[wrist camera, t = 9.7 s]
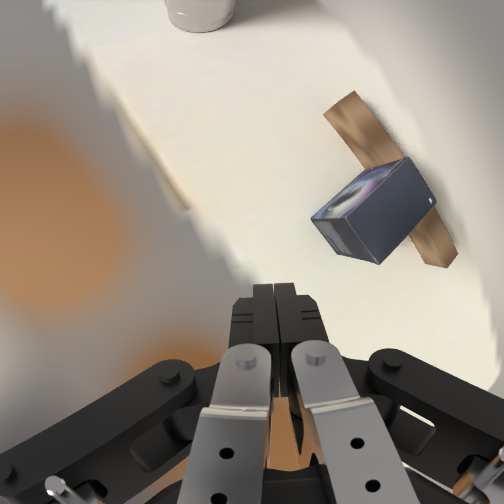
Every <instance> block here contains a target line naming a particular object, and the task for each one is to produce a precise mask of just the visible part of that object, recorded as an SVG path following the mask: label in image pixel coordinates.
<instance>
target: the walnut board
mask: <svg viewBox="0 0 504 504" xmlns="http://www.w3.org/2000/svg"><path fill="white" fill-rule="evenodd" d="M323 115H324V116H325V118H326V119H327V120H328V121H329V123H330V124H331V125H332V126H333V127H334V129H335V130H336V131H337V132H338V134H339V135H340V136H341V137H342V139H343V140H344V141H345V143H346V144H347V145H348V146H349V148H350V149H351V150H352V152H353V153H354V154H355V156H356V157H357V158H358V160H359V161H360V162H361V164H362V165H363V167H364V168H365V169H366V170H368V169H371V168H374V167H377V166H381V165H384V164H387V163H390V162H393V161H397V160H400V159H403V158H404V156H403V155H402V153H401V152H400V150H399V149H398V148H397V146H396V145H395V143H394V142H393V140H392V139H391V137H390V136H389V135H388V133H387V132H386V131H385V129H384V128H383V126H382V125H381V124H380V122H379V121H378V120H377V118H376V117H375V116H374V114H373V113H372V112H371V111H370V109H369V108H368V107H367V105H366V104H365V103H364V102H363V100H362V99H361V98H360V97H359V96H358V94H357V93H356V92H355V91H353V92H351V93H350V94H348V95H347V96H346V97H344V98H343V99H341V100H340V101H338V102H337V103H336V104H335V105H334V106H333V107H331V108H330V109H329V110H328V111H327V112H325V113H324V114H323ZM408 235H409V236H410V238H411V240H412V241H413V243H414V245H415V246H416V248H417V250H418V252H419V253H420V255H421V257H422V259H423V261H424V262H425V264H429V265H433V266H438V267H443V268H448V267H449V265H450V264H451V263H452V261H453V260H454V259H455V258H456V256H457V255H458V252H457V250H456V248H455V246H454V244H453V242H452V240H451V238H450V236H449V234H448V232H447V230H446V228H445V226H444V224H443V222H442V220H441V218H440V216H439V215H438V213H437V211H436V209H435V207H434V206H433V207H432V208H431V210H430V211H429V212H428V213H427V214H426V215H425V216H424V218H423V219H422V220H421V221H420V222H419V223H418V224H417V225H416V227H415V228H414V229H413V230H412V231H411V232H410V233H409V234H408Z"/></svg>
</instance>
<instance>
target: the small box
mask: <svg viewBox="0 0 504 504" xmlns="http://www.w3.org/2000/svg"><path fill="white" fill-rule="evenodd" d="M436 202H437V200H436V199H435V197H434V195H433V194H432V192H431V190H430V189H429V187H428V185H427V184H426V182H425V180H424V179H423V177H422V176H421V174H420V173H419V171H418V169H417V168H416V166H415V165H414V163H413V162H412V160H411V159H410V157H406V158H403V159H400V160H397V161H393V162H390V163H387V164H384V165H381V166H377V167H374V168H371V169H368V170H364V171H363V172H362V173H361V174H360V175H358V176H357V177H356V178H355V179H354V180H353V181H352V182H351V183H349V184H348V185H347V186H346V187H345V188H344V189H343V190H342V191H340V192H339V193H338V194H337V195H336V196H335V197H334V198H333V199H332V200H330V201H329V202H328V203H327V204H326V205H325V206H324V207H322V208H321V209H320V210H319V211H318V212H317V213H316V214H315V215H314V216H312V217H311V221H312V222H313V223H314V225H315V226H316V227H317V229H318V230H319V231H320V233H321V234H322V235H323V236H324V238H325V239H326V240H327V242H328V243H329V244H330V246H331V247H332V248H333V250H334V251H335V252H336V253H337V254H338V255H343V256H347V257H352V258H356V259H360V260H365V261H369V262H372V263H375V264H377V265H380V264H381V263H382V262H383V261H384V260H385V259H386V258H387V257H388V256H389V255H390V254H391V253H392V251H393V250H394V249H395V248H396V247H397V246H398V245H399V244H400V243H401V242H402V241H403V240H404V239H405V238H406V237H407V235H408V234H409V233H410V232H411V231H412V230H413V229H414V228H415V227H416V225H417V224H418V223H419V222H420V221H421V220H422V219H423V218H424V216H425V215H426V214H427V213H428V212H429V211H430V210H431V208H432V207H433V206H434V205H435V204H436Z"/></svg>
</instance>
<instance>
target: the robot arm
mask: <svg viewBox="0 0 504 504" xmlns="http://www.w3.org/2000/svg"><path fill="white" fill-rule="evenodd" d="M235 3H236V0H165V5H166V6H167V9H168V16H169V19H170V21H171V22H172V23H173V24H174V25H175V26H176V27H178V28H180V29H182V30H185V31H189V32H209V31H212V30H216V29H218V28H220V27H222V26H224V25H225V24H227V22H228V21H229V20H230V19H231V18H232V16H233V12H234V8H235ZM279 382H280V394H281V397H288V400H289V413H288V415H289V421H290V426H291V431H292V436H293V441H294V445H295V451H296V455H297V461H298V470H297V471H290V472H289V471H281V470H274V469H269V459H270V458H269V457H270V442H271V441H270V440H271V422H272V413H273V410H274V397H279ZM401 405H402V406H404V407H405V408H407V409H409V410H411V411H413V412H414V413H416V414H418V415H420V416H422V417H424V418H425V419H427V420H429V421H431V422H432V423H433V424H434V426H435V427H434V426H431V425H429V424H427V423H425V422H423V421H421V420H419V419H418V418H416V417H414V416H412V415H410V414H408V413H407V412H405V411H403V410H401V409H400V406H401ZM187 456H189V458H188V462H187V466H186V470H185V474H184V478H183V479H182V480H179V481H177V482H175V483H173V484H171V485H169V486H168V487H166V488H164V489H163V490H161V491H160V492H159V493H157V494H156V495H155V496H154V497H152V498H151V499H150V500H149V501H147V502H146V503H145V504H504V399H502V398H500V397H498V396H496V395H493V394H491V393H489V392H487V391H485V390H483V389H481V388H478V387H476V386H474V385H472V384H470V383H468V382H466V381H463V380H461V379H459V378H457V377H455V376H453V375H451V374H449V373H447V372H445V371H442V370H440V369H438V368H436V367H434V366H432V365H430V364H428V363H426V362H424V361H422V360H420V359H418V358H416V357H413V356H411V355H409V354H407V353H405V352H403V351H401V350H398V349H391V348H387V349H381V350H378V351H376V352H374V353H373V354H372V355H371V356H370V358H369V361H364V360H355V359H349V358H346V357H343V356H341V354H340V352H339V351H338V349H337V348H336V347H335V346H334V345H332V344H330V343H329V339H328V336H327V333H326V330H325V327H324V324H323V321H322V319H321V315H320V312H319V309H318V306H317V303H316V301H315V300H314V299H312V298H311V297H310V296H309V295H296V291H295V287H294V283H275V284H274V292H273V284H253V298H239V299H238V300H237V301H236V303H235V304H234V305H233V310H232V320H231V328H230V337H229V347H228V350H226V351H225V352H224V354H223V355H222V358H221V361H220V362H219V363H217V364H215V365H213V366H211V367H207V368H203V369H198V370H193V368H192V366H191V365H190V364H188V363H187V362H185V361H182V360H176V359H171V360H164V361H161V362H158V363H156V364H155V365H153V366H151V367H150V368H148V369H147V370H145V371H143V372H142V373H140V374H138V375H137V376H135V377H134V378H132V379H130V380H129V381H127V382H126V383H124V384H122V385H121V386H119V387H117V388H116V389H114V390H113V391H111V392H109V393H107V394H106V395H104V396H103V397H101V398H99V399H98V400H96V401H94V402H93V403H91V404H89V405H87V406H86V407H84V408H82V409H81V410H79V411H77V412H75V413H74V414H72V415H70V416H69V417H67V418H65V419H63V420H62V421H60V422H58V423H56V424H55V425H53V426H51V427H49V428H48V429H46V430H44V431H42V432H41V433H38V434H37V435H35V436H33V437H31V438H30V439H28V440H26V441H24V442H22V443H20V444H18V445H17V446H15V447H13V448H11V449H9V450H7V451H5V452H3V453H1V454H0V497H1V498H3V499H4V500H5V501H6V502H8V503H9V504H123V503H125V502H126V501H128V500H129V499H131V498H132V497H134V496H135V495H136V494H138V493H139V492H141V491H142V490H144V489H145V488H147V487H148V486H149V485H151V484H152V483H154V482H155V481H156V480H158V479H159V478H160V477H162V476H163V475H164V474H165V473H167V472H168V471H170V470H171V469H172V468H173V467H175V466H176V465H177V464H179V463H180V462H181V461H182V460H184V459H185V458H186V457H187ZM402 462H404V463H406V464H407V465H409V466H411V467H413V468H414V469H416V470H418V471H420V472H421V473H423V474H425V475H427V476H428V477H430V478H432V479H434V480H436V481H438V482H439V483H441V484H443V485H445V486H447V487H449V488H451V489H453V494H452V493H450V492H448V491H447V490H445V489H443V488H441V487H440V486H438V485H436V484H435V483H433V482H431V481H429V480H428V479H426V478H425V477H423V476H421V475H420V474H418V473H416V472H415V471H413V470H411V469H409V468H406V467H404V466H403V464H402Z"/></svg>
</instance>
